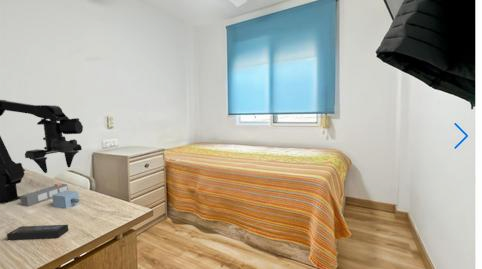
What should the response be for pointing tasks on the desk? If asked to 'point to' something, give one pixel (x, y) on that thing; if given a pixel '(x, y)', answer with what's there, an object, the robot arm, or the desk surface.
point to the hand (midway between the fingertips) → (57, 169)
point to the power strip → (42, 194)
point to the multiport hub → (37, 232)
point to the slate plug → (65, 199)
